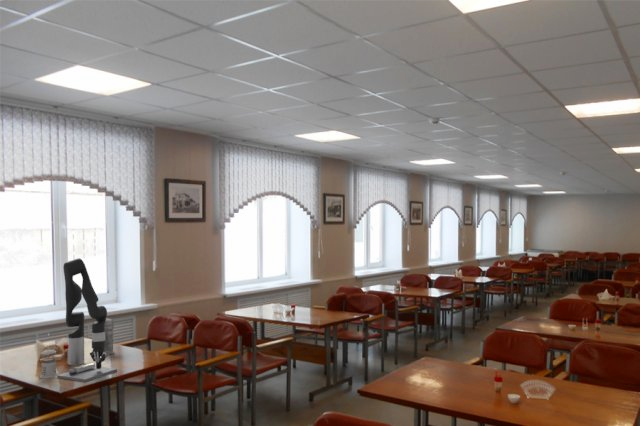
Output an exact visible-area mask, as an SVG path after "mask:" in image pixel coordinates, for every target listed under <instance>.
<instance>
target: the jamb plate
mask: <svg viewBox="0 0 640 426" xmlns="http://www.w3.org/2000/svg"><path fill="white" fill-rule="evenodd" d="M90 363H91V362H89V361H87V362H84V363H83V365H87V364H90ZM116 372H118V369H117V368H114V367H106V366H105V367H104V366H101V369H96V365H95V368H92V369H88V370H85V371H82V372H78V373H76V374H69V371H67V372H64V373H60V374H58V375H57V376H56V378H57V379H62V380H68V379H69V380H70V381H76V382H82V381H83V382H84V383H86V381H87V382H89V381H92V380H95V379H99V378H101V377H105V376H106V375H110V374H113V373H116Z"/></svg>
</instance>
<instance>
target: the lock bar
mask: <svg viewBox="0 0 640 426" xmlns="http://www.w3.org/2000/svg"><path fill="white" fill-rule="evenodd" d="M95 366H96V363H93V362H90V364H87V365H84V364H82V365H81V366H77V367H72V368H70V369H68V372H69V374H76V373H78V372H82V371H85V370H88V369H92V368H95Z"/></svg>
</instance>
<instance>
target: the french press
mask: <svg viewBox="0 0 640 426" xmlns="http://www.w3.org/2000/svg"><path fill="white" fill-rule="evenodd" d="M46 336H48V337H50V336H51V333H49V332H48V333H47V335H46ZM56 353H57V350H54V349H50V348H48V349H46V350H44V351H42V352H41V353H40V354H41V355H42V356H45V357H44V358H43V359H41V364H40V365H41V366H40V367H41V374H40V376H39V378H40V379H48V378H53V377H54V378H55V377H57V375H59V373H57V360H56V357H48V356H50V355H54V354H56Z"/></svg>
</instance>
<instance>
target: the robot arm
mask: <svg viewBox="0 0 640 426" xmlns="http://www.w3.org/2000/svg"><path fill="white" fill-rule="evenodd" d="M63 275H64V283H65V284H64V285H65V288H64V289H65V292H64V293H65V308H66V309H65V325H66V327H69V328H73V327H74V328H75V327H77V329H75V330H73V331H71V332H69V333H68V334H67V336H68V339H67V341H68V343H67V344H68V345H67V346H68V348H67V365H68V366H79V365H84V363H85V313H84V311H76V312H75V311H74V309H76V307H77V306H78V305H79V304H80V302H81V301H82V297H83V299H84V301H85V303H86V307H87V311H88V312H87V313H88V316H89V317H90V318H92V319H94V320H95V321H94V322H93V323H92V325H91V349H92V352H89V356H90V357H91V360H92V361H93V362H95V366H96V369H101V367H102V362H105V360H106V358H107V357H108V354H107V353H105V350H104V347H105V321H106V318H108V317H107V315H108V311H107V307H106V306H104V305H98V302H99V296H98V295H97V293H96V291H95V289H94V287H93V285H92V282H91V280H90V276H89V273H88V271H87V266H86V264H85V262H84V261H83V260H82V258H74V259H72V260H69V261H66V262H64V263H63ZM76 275H81V277H82V284H81V286H80V285H79V284H78V283H77V282H76V281H74V276H76Z"/></svg>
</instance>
